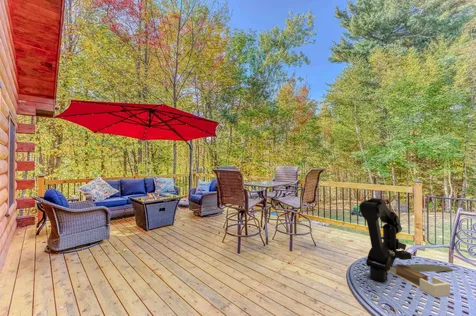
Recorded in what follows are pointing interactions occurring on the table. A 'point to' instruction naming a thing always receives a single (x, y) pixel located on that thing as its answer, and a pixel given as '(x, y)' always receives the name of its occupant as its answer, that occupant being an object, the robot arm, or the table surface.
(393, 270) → the board
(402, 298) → the table surface
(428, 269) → the stone slab
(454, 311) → the table surface
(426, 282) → the end cap
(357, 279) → the table surface
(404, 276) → the slat
